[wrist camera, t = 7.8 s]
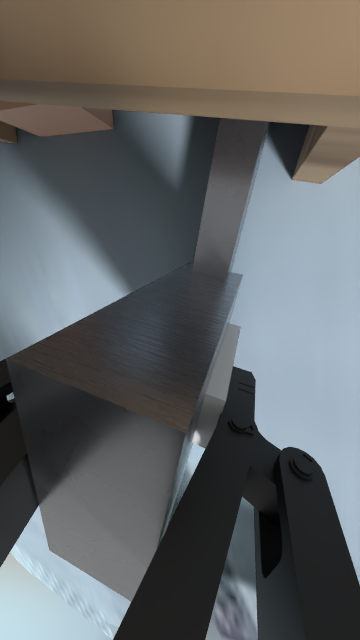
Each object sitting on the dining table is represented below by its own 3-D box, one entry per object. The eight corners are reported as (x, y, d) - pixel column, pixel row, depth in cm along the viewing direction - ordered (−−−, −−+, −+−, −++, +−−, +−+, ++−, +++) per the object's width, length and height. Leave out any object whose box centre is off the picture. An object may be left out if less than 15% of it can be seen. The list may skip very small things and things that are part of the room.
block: (115, 129, 14) (68, 99, 11) (43, 137, 16) (-18, 113, 12) (105, -11, 12) (40, -110, 8) (21, 16, 14) (-61, -57, 10)
